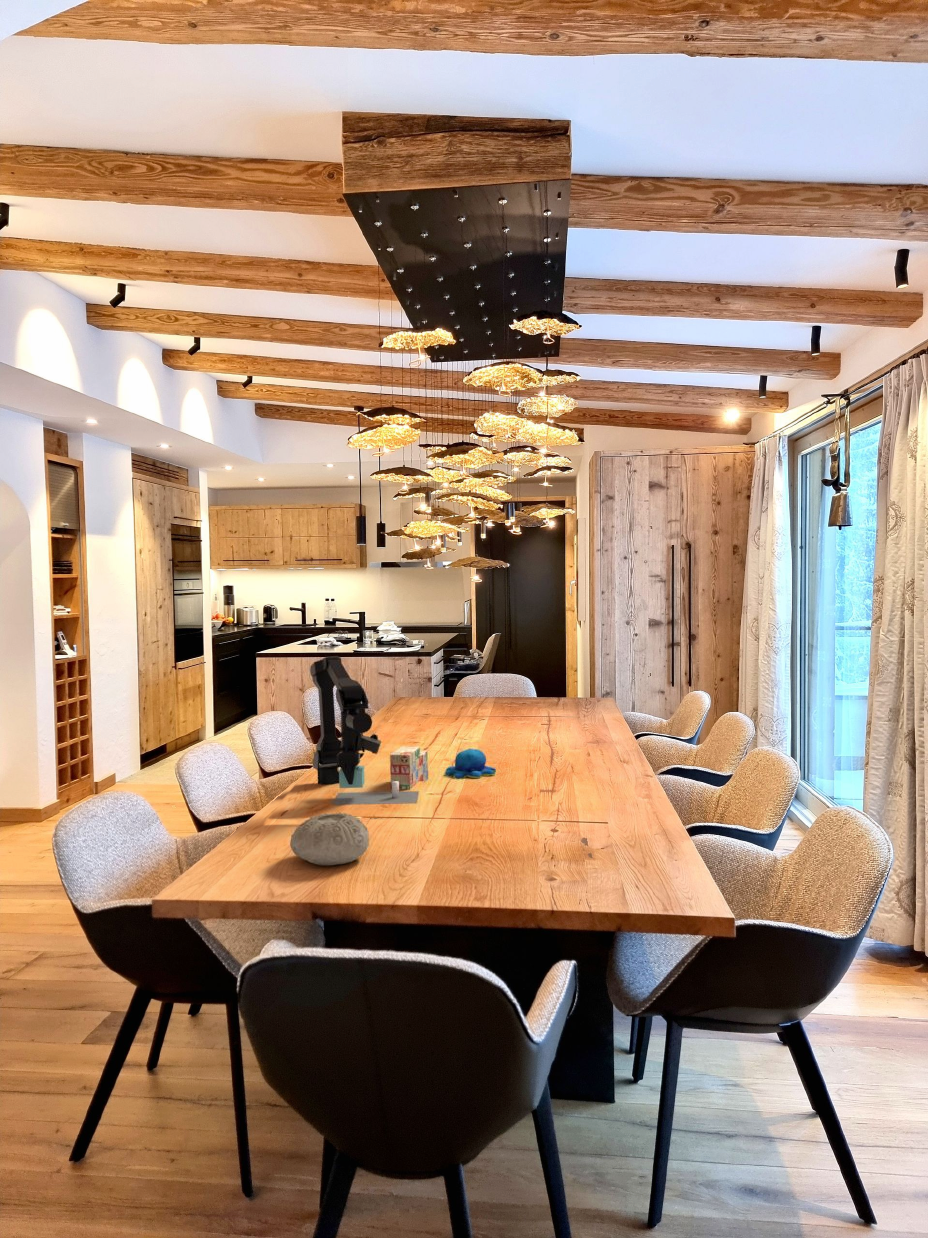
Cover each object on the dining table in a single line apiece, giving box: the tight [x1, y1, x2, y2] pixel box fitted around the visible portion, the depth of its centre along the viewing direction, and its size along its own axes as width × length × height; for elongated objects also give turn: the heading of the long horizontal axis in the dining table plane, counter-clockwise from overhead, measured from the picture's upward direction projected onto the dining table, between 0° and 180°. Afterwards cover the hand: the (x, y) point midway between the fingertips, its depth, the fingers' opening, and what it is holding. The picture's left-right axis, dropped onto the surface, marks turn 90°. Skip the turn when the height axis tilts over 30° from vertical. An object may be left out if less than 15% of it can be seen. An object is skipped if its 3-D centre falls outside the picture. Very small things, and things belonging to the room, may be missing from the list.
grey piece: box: [331, 781, 420, 806], centre depth 247 cm, size 24×14×6 cm, turn 91°
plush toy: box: [444, 748, 497, 780], centre depth 285 cm, size 17×17×8 cm
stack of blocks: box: [389, 746, 429, 790], centre depth 268 cm, size 21×6×12 cm, turn 168°
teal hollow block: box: [338, 765, 366, 789], centre depth 247 cm, size 6×6×5 cm
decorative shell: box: [289, 811, 370, 867], centre depth 196 cm, size 18×18×10 cm
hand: (352, 781), depth 247 cm, fingers closed on teal hollow block, 6 cm apart
